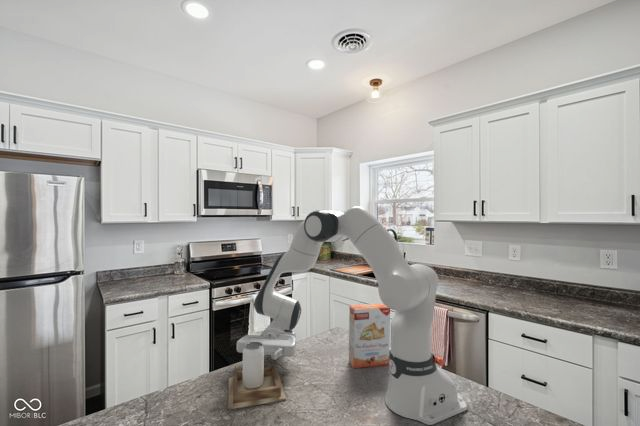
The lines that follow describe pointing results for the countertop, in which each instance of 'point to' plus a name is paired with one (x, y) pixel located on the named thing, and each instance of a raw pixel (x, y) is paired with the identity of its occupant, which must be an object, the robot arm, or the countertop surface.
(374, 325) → the cracker box
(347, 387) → the countertop surface
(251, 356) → the can
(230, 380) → the wooden serving tray
